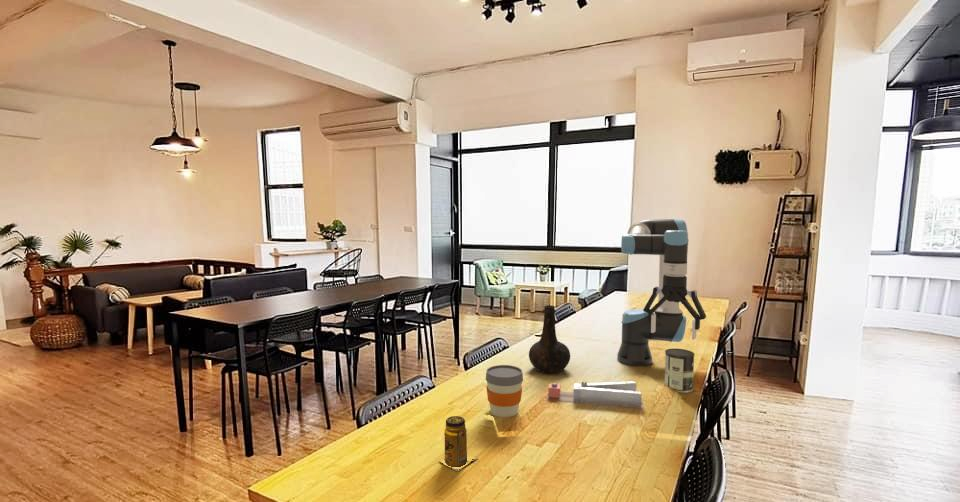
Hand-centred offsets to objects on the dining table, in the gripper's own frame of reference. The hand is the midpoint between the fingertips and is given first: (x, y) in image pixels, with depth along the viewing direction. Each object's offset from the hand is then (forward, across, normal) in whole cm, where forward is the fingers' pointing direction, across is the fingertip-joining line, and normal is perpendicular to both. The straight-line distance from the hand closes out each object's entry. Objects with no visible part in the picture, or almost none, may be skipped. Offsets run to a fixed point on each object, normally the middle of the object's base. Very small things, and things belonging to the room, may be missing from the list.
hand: (673, 335), depth 157 cm
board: (+25, -22, -16) cm, 37 cm away
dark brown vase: (+25, -52, +4) cm, 57 cm away
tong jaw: (+23, -18, -11) cm, 32 cm away
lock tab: (+24, -34, -22) cm, 47 cm away
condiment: (+25, -35, -74) cm, 86 cm away
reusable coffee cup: (+25, -42, -43) cm, 65 cm away
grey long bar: (+24, -17, -16) cm, 33 cm away
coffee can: (+25, -2, +17) cm, 30 cm away
